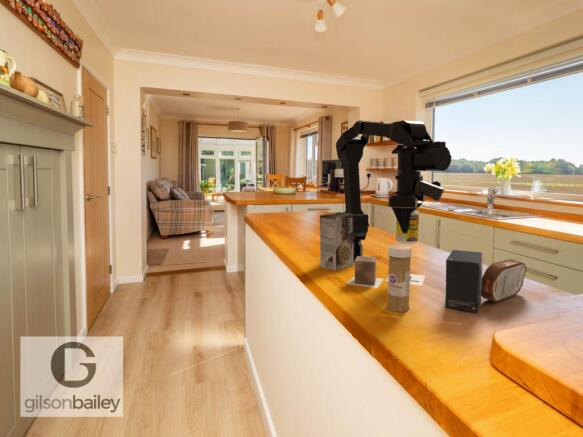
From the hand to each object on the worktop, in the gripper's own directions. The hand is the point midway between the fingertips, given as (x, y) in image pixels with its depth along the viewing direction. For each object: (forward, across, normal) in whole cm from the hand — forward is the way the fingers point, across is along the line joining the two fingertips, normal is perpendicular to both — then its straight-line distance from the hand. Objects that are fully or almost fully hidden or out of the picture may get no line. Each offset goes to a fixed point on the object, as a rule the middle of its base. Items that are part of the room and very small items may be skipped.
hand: (407, 231), depth 89 cm
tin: (+13, -6, -22) cm, 26 cm away
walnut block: (+13, -7, +9) cm, 17 cm away
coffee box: (+13, +4, +21) cm, 25 cm away
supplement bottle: (+3, 0, 0) cm, 3 cm away
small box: (+13, -12, -14) cm, 23 cm away
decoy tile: (+13, -7, +9) cm, 17 cm away
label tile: (+13, 0, 0) cm, 13 cm away
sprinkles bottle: (+13, -21, -2) cm, 25 cm away
